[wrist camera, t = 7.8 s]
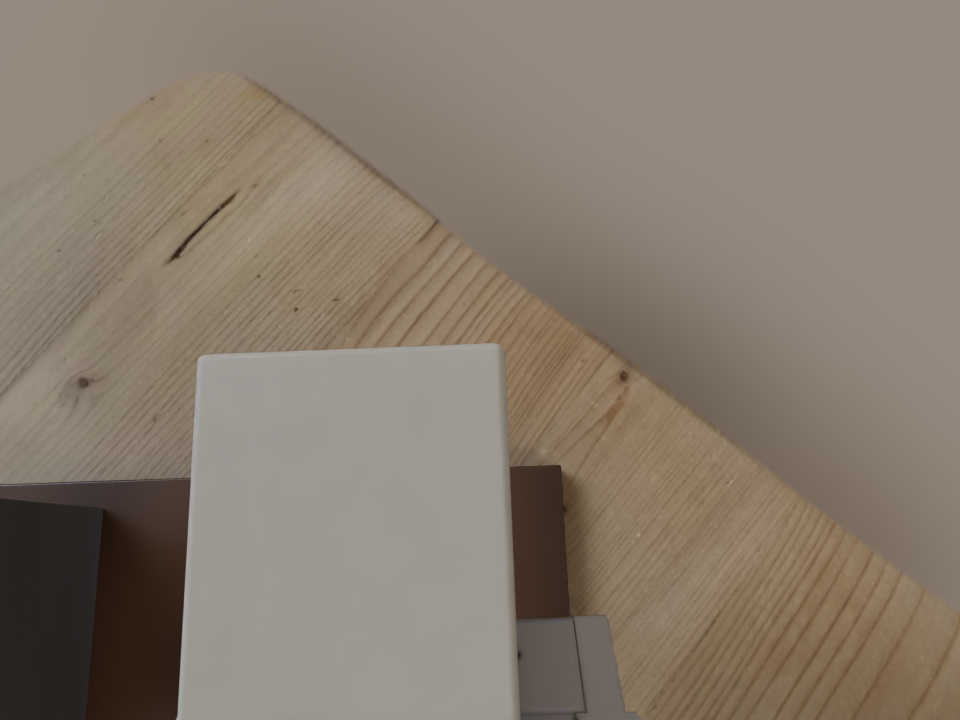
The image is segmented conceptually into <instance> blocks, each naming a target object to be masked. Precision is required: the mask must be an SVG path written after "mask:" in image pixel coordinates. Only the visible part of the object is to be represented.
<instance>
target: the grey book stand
mask: <svg viewBox="0 0 960 720" xmlns="http://www.w3.org/2000/svg"><path fill="white" fill-rule="evenodd" d="M190 486H191V478H173V479H144V480H115V481H86V482H57V483H28V484H0V720H176V718H177V716H178V699H179V681H180V663H181V646H182V628H183V610H184V592H185V575H186V557H187V539H188V521H189V504H190ZM510 488H511V512H512V535H513V559H514V583H515V606H516V618H525V617H547V616H568V615H570V614H569V597H568V579H567V562H566V545H565V527H564V510H563V493H562V475H561V466H560V465H548V466H519V467H510Z"/></svg>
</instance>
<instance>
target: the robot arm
mask: <svg viewBox="0 0 960 720" xmlns="http://www.w3.org/2000/svg"><path fill="white" fill-rule="evenodd" d="M516 630H517V654H518V677H519V701H520V720H642V719H641V718H640V717H639V716H638V714H637V713H636V712H625V708H624V703H623V697H622V692H621V687H620V681H619V676H618V670H617V665H616V660H615V654H614V649H613V643H612V638H611V633H610V627H609V622H608V619H607V618H606V616H605V615H588V616H573V617H572V616H571V615H568V616H547V617H525V618H516ZM177 717H178V716H177ZM176 720H177V718H176Z"/></svg>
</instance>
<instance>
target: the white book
mask: <svg viewBox="0 0 960 720" xmlns="http://www.w3.org/2000/svg"><path fill="white" fill-rule="evenodd" d="M177 720H520V701H519V677H518V654H517V630H516V606H515V583H514V559H513V535H512V512H511V488H510V464H509V441H508V417H507V393H506V370H505V351H504V349H503V347H502V346H501V345H499V344H496V343H491V344H465V345H439V346H413V347H387V348H361V349H334V350H308V351H282V352H256V353H230V354H207V355H204V356H201V357H199V360H198V363H197V379H196V397H195V415H194V433H193V450H192V468H191V486H190V504H189V521H188V539H187V557H186V575H185V592H184V610H183V628H182V646H181V663H180V681H179V699H178V717H177Z"/></svg>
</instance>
